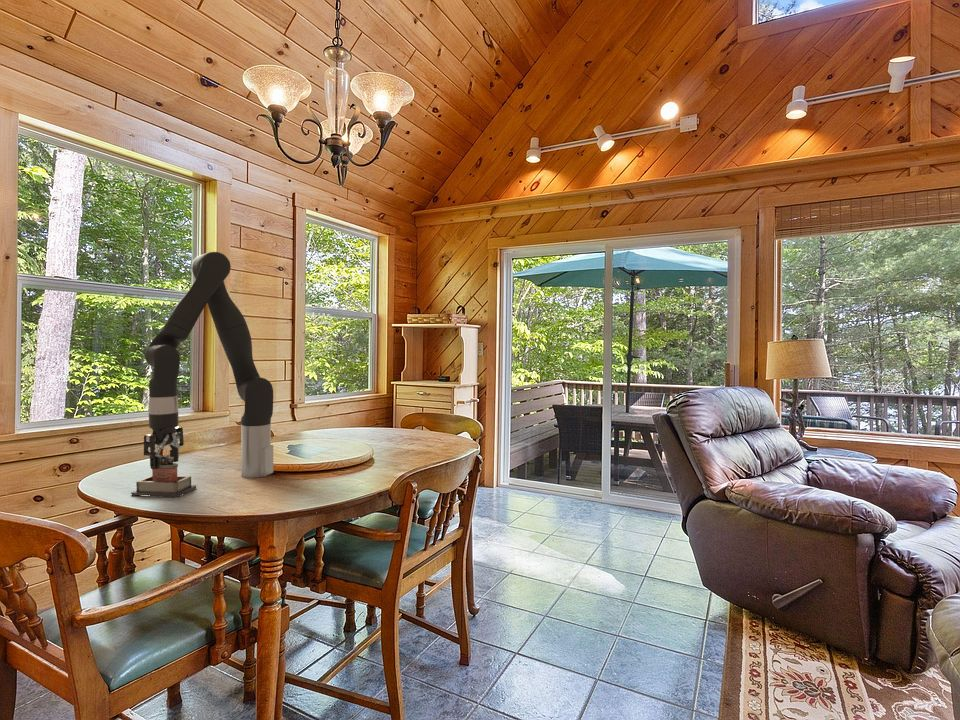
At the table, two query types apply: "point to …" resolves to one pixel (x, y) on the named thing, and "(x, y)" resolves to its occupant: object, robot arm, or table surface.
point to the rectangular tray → (164, 487)
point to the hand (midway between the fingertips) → (165, 465)
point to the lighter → (165, 470)
